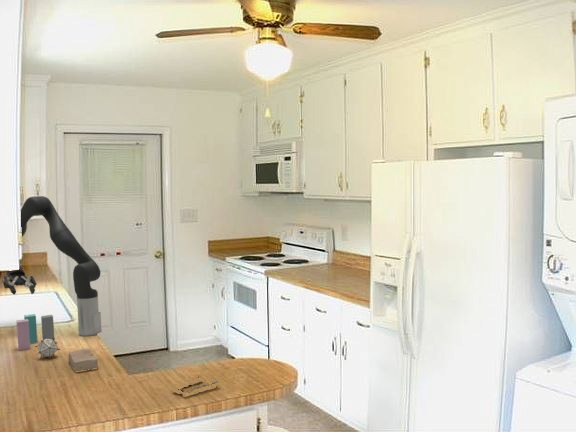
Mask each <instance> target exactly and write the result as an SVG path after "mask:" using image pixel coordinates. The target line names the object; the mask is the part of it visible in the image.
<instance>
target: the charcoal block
mask: <svg viewBox="0 0 576 432" xmlns="http://www.w3.org/2000/svg"><path fill="white" fill-rule="evenodd" d="M40 319H41V338H42V341H43V340H44V339H45V337H46V339H54V338H55V328H54V327H55V326H54V316H53V314H47V315H41V317H40ZM54 341H55V339H54ZM55 342H56V341H55Z"/></svg>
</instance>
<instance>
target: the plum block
mask: <svg viewBox="0 0 576 432" xmlns="http://www.w3.org/2000/svg"><path fill="white" fill-rule="evenodd" d="M16 332H17V333H16V334H17V347H18V351H24V350H30V349H31V344H30V335H29V321H28V319H25V320H24V319H18V320H16Z"/></svg>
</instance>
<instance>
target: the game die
mask: <svg viewBox="0 0 576 432" xmlns="http://www.w3.org/2000/svg"><path fill="white" fill-rule="evenodd" d="M55 339H56V338H55V337H54V339H46V337H45V339H44V340H43V339H41V340H40V342H39V344H38V345H35V346H34V347H35V348H37V350H38V353H37V354H38V355H40V359H42V358H43V357H44V358H48V359H49V360H51V357H52V356H55V353H56V352H57V351H60V350H61V349H60V348H59V347H58V346H57V344H58V342H56V341H54V340H55Z"/></svg>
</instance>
